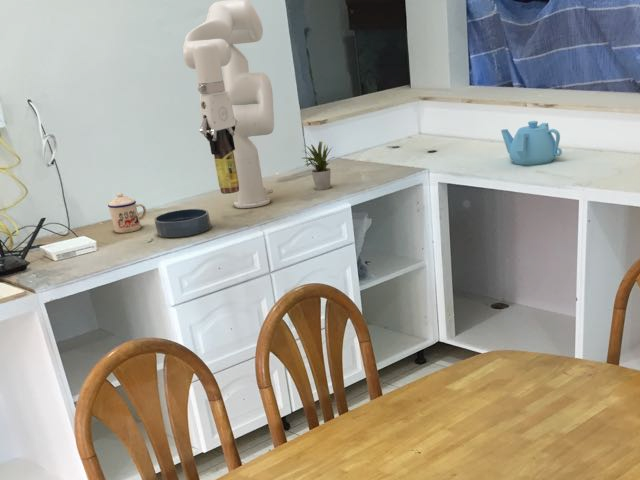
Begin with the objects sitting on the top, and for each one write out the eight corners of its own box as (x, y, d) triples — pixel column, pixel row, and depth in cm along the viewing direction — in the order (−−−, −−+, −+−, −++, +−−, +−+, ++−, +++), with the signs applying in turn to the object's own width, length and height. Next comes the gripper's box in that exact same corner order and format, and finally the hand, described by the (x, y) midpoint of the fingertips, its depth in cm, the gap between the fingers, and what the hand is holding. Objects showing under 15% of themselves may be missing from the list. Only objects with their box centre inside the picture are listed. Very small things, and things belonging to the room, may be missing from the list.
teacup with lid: (119, 234, 306) (110, 198, 300) (110, 230, 313) (101, 194, 307) (153, 227, 311) (145, 191, 305) (144, 223, 318) (136, 187, 312)
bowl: (185, 222, 313) (182, 207, 310) (221, 226, 304) (219, 210, 301) (146, 236, 301) (143, 220, 299) (183, 240, 292) (180, 224, 290)
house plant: (304, 185, 349) (298, 138, 340) (341, 181, 348) (335, 134, 339) (301, 193, 337) (294, 145, 328) (339, 189, 336) (333, 141, 327)
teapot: (549, 153, 359) (549, 114, 351) (566, 162, 343) (566, 121, 335) (501, 160, 357) (500, 121, 349) (516, 169, 341) (515, 128, 333)
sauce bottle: (236, 194, 293) (223, 126, 282) (217, 195, 294) (204, 127, 284) (243, 189, 298) (231, 122, 288) (225, 190, 300) (212, 123, 289)
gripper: (200, 93, 273) (212, 158, 282) (240, 84, 284) (251, 147, 294) (182, 93, 277) (195, 157, 286) (223, 84, 288) (233, 146, 298)
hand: (223, 151), depth 290 cm, fingers closed on sauce bottle, 6 cm apart
